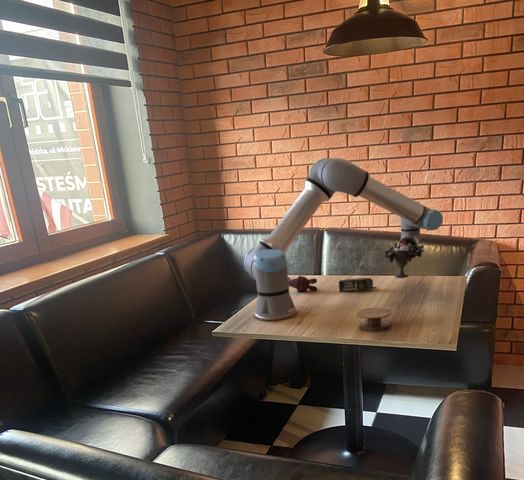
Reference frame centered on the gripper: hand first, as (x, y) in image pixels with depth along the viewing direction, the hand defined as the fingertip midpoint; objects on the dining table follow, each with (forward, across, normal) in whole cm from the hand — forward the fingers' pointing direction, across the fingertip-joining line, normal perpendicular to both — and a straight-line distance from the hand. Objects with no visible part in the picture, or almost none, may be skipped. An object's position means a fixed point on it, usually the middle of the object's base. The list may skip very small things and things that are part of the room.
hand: (400, 258), depth 191 cm
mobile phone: (-18, +19, -17) cm, 31 cm away
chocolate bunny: (-17, +44, -17) cm, 50 cm away
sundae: (-5, 0, -8) cm, 10 cm away
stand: (+27, +5, -17) cm, 33 cm away
